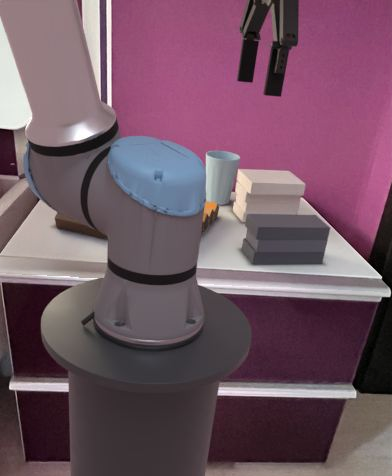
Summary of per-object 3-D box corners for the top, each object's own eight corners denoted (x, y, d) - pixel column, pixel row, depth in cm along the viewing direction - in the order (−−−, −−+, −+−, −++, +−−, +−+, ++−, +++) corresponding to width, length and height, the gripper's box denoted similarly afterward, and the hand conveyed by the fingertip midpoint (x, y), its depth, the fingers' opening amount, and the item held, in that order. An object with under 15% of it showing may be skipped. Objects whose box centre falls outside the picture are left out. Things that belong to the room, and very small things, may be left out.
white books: (241, 222, 120) (246, 192, 116) (232, 210, 125) (236, 181, 122) (296, 223, 123) (302, 193, 119) (284, 211, 129) (290, 183, 125)
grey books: (251, 264, 102) (258, 226, 98) (240, 249, 107) (246, 213, 103) (322, 264, 106) (331, 227, 102) (308, 249, 111) (316, 214, 107)
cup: (227, 195, 134) (233, 150, 129) (238, 206, 128) (245, 160, 123) (197, 195, 132) (201, 150, 126) (207, 206, 126) (212, 159, 120)
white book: (250, 194, 115) (252, 182, 114) (236, 179, 123) (238, 168, 122) (303, 195, 118) (306, 184, 117) (287, 181, 126) (289, 170, 125)
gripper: (344, -70, 73) (308, 104, 85) (275, -61, 93) (253, 78, 105) (291, -79, 71) (262, 100, 83) (233, -69, 91) (215, 74, 103)
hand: (257, 88), depth 94 cm, fingers open, 13 cm apart
